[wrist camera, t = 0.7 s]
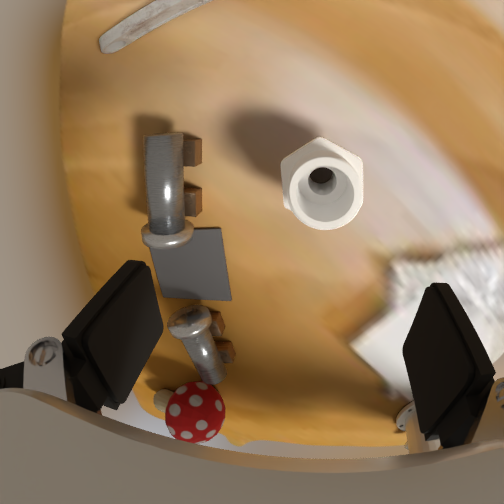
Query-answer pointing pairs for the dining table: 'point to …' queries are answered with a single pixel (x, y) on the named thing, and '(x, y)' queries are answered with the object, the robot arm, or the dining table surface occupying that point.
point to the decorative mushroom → (192, 411)
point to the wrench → (145, 22)
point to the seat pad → (194, 268)
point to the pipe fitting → (322, 184)
